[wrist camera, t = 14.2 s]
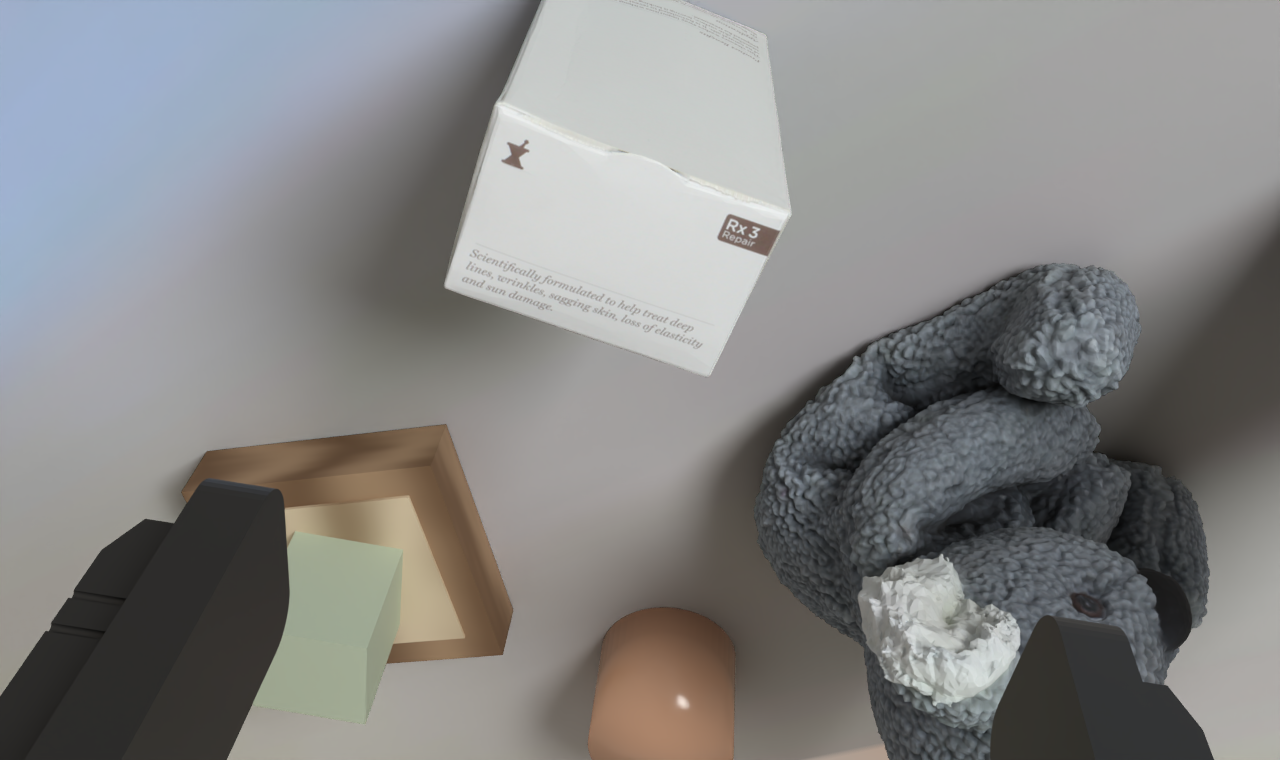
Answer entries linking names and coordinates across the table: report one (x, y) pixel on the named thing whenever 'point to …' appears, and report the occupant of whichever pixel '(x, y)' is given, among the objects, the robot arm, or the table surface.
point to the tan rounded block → (664, 689)
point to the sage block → (335, 628)
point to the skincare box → (628, 179)
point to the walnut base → (391, 526)
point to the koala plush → (980, 506)
